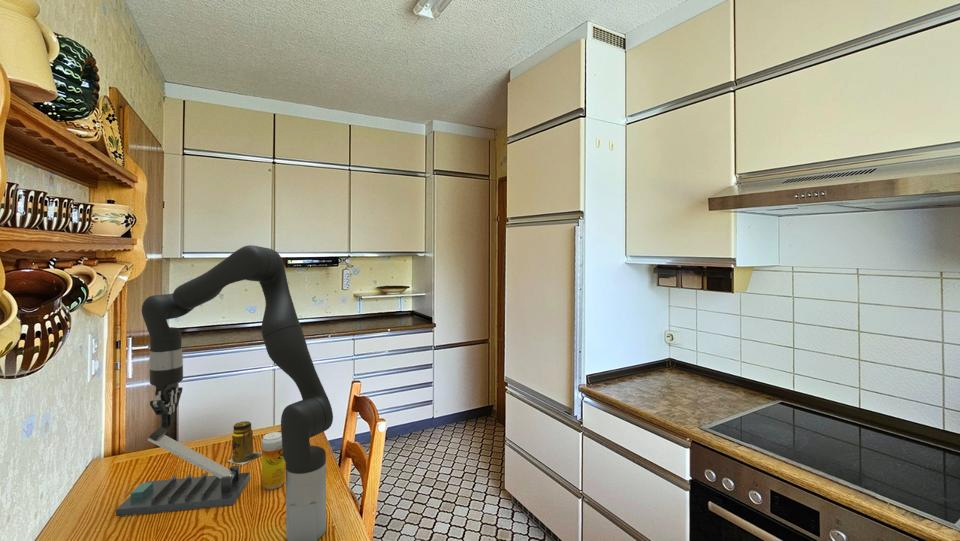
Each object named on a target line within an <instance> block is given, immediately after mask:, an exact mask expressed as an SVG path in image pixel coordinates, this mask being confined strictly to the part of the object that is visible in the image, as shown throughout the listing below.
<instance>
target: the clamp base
mask: <svg viewBox="0 0 960 541" xmlns="http://www.w3.org/2000/svg"><path fill="white" fill-rule="evenodd" d="M228 469H229V470H231V471H235V472H236V475H235V477H234V478H233V479H232V476H225V477H222V478H221V479H220V478H218V477H216V476H214V475H207V473H206V472H203V474H201V476H195V477H194V476H193V477H192V474H191V473H189V474H188V475H187V476H186V477H181V478H177V475H173V476H172V477H171V478H170V479H169V478H168V479H160V480H149V481H148V480H146V481H145V482H141V483H140V484H139V485H137V486H136V487H135V488H134V489H133V490H132V491H130V493H129V494H130V496H129V497H128V498H126V500H124V501H123V502H122V503H121V504H120V505H119V506H118V507H116V509H115V517H116V516H121V517H127V516H126V515H131V516H135V515H134V514H141V515H147V514H148V515H149V514H151V515H152V514H159V513H167V512H177V511H178V512H181V511H189V510H197V509H208V508H218V507H229V506H234V505H235V503H236V502H237V500H238V498H239V497H240V496H241V494H242V492H243V491H244V489H245V488H246V486H247V484H248V483H249V481H250V480H251V472H241V471H240V465H230V467H229V468H228Z"/></svg>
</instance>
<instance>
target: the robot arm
mask: <svg viewBox="0 0 960 541" xmlns="http://www.w3.org/2000/svg"><path fill="white" fill-rule="evenodd" d="M240 281H250V282H258V283H259V284H260V287H261V289H262V293H263V295H264V299H265V300H264V301H265V308H264V312H263V318H262V321H261V322H262V323H261V327H260V328H261V336H262V339H263V343H264V346H265V349H266V352H267V355H268V356H269V358H270V359H271V361H272V362H273V364H275V365H276V366H277V367H278V368H279V369H280V370H282V371H283V372H284V373H285V374H286V375H287V376H288V377H290V379H291V380H293V382H294V384H295V386H296V387H297V388H298V391H299V394H300V396H301V398H302V399H301V400H298V401H296V402H292V403H291V404H288V405H287V406H285V407H284V409H283V410H282V413H281V418H280V432H281V435H282V451H283V456H284V460H285V531H286V533H285V538H286V540H287V541H319V539H320V538H321V537H323V535H324V534H325V533H326V531H327V474H326V473H327V452H326V450H325V449H324V448H323V447H321V446H319V445H311V441H310V439H311V438H313V437H315V436H317V435H319V434H321V433H324V432H326V431H327V430H329V429H330V428H331V427H332V424H333V420H334V413H333V408H332V404H331V402H330V400H329V397H328V395H327V392H326V390H325V389H324V386H323V384H322V382H321V380H320V377H319V375H318V373H317V370H316V368H315V365H314V362H313V359H312V357H311V354H310V351H309V349H308V345H307V342H306V338H305V335H304V331H303V328H302V325H301V323H300V320H299V318H298V315H297V311H296V308H295V306H294V302H293V299H292V296H291V292H290V287H289V283H288V279H287V273H286V268H285V264H284V261H283V259H282V257H281V255H280V254H279V252H278V251H276V250H274V249H273V248H270V247H263V246H259V245H254V244H253V245H251V244H250V245H249V244H248V245H245V246H244V245H243V246H241V247H240V248H238V249H236V250H235V251H234V252H232V253H231V254H230V255H228V256H227V257H226V258H225V259H223V260H222V261H220V262H219V263H217V265H214V267H212V268H210V269H209V270H207V271H205V272H204V273H203V274H201V275H199V276H197V277H195V278H192V279H191V280H189V281H187V282H184V283H182V284H181V285H179V286H177V287H176V288H175V289H174V291H173V292H172V293H166V294H163V293H162V294H156V295H155V294H154V295H150V296H148V297H147V298H146V299H144V301H143V303H142V305H141V315H142V319H143V321H144V323H145V326H146V330H147V332H148V334H149V349H150V350H149V358H148V360H149V362H148V363H149V365H148V366H149V368H148V369H149V385H151V386H154V387H155V390H154V392H155V393H154V396H155V398H154V400H150V401H149V406H150V407H151V409H152V410H153V412H154V414H155V415H156V416H160V417H161V427H162V428H165V429H169V428H171V427H172V426H173V425H174V413H175V410H176V409H177V408H178V406H179V403H180V400H181V396H182V393H183V387H179V383H180V382H183V380H184V358H183V357H184V356H183V355H184V354H183V350H182V331H181V329H179V327H178V328H177V327H173V326H169V324H168V321H167V320H173V319H177V318H180V317H184V316H185V315H187V314H189V313H190V312H191V311H193V310H194V309H195V308H196V307H199V306H201V305H203V304H205V303H208V302H209V301H212V300H214V299H215V298H216V297H217V296H218V295H219V294H220V293H221V292H222V290H223V289H224V288H225V287H226V286H229V285H231V284H234V283H237V282H240Z"/></svg>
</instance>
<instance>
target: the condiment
mask: <svg viewBox="0 0 960 541" xmlns="http://www.w3.org/2000/svg"><path fill="white" fill-rule="evenodd" d="M253 432H254V431H253V430H252V422H250V421H239V422H236V423H235V424H234V425H233V431H232V435H231V438H232V441H231V442H232V458H230V459H228V460H227V462H229V463H232V464H237V465H241V466H242V465H243V466H244V465H245V464H247V463H249V462H251V461H253V460H254V459H256V458H258V457H260V456H262V452H258V451H254V436H253V435H254V433H253Z"/></svg>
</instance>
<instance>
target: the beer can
mask: <svg viewBox="0 0 960 541" xmlns="http://www.w3.org/2000/svg"><path fill="white" fill-rule="evenodd" d="M261 453H262V454H261V478H262V479H261V484H262V487H263V488H264V489H265V490H276V489H278V488H280V487H281V486H283V484H284V483H285V482H286V463H285V460H284V456H283V451H282V435H281V431H272V432H270V433H267V434H264V435H263V436H262V439H261Z"/></svg>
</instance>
